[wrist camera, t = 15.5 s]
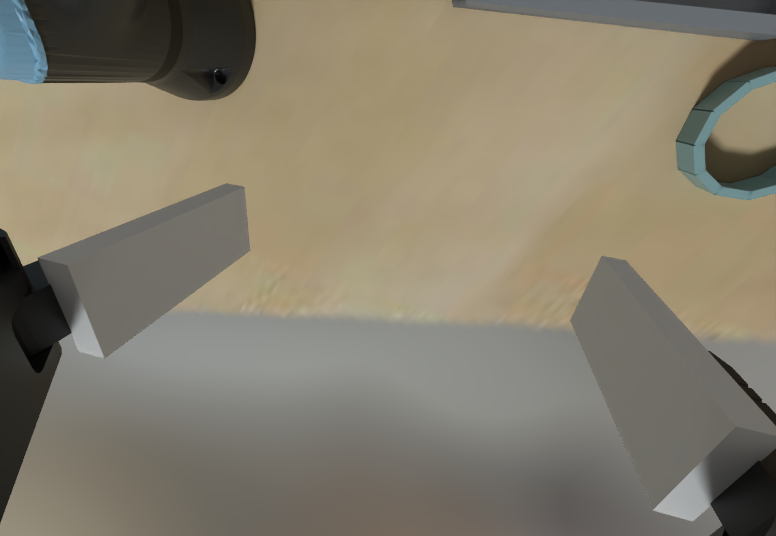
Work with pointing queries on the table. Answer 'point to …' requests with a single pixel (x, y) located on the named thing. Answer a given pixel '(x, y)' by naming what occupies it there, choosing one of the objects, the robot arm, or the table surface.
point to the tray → (653, 14)
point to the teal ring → (702, 126)
